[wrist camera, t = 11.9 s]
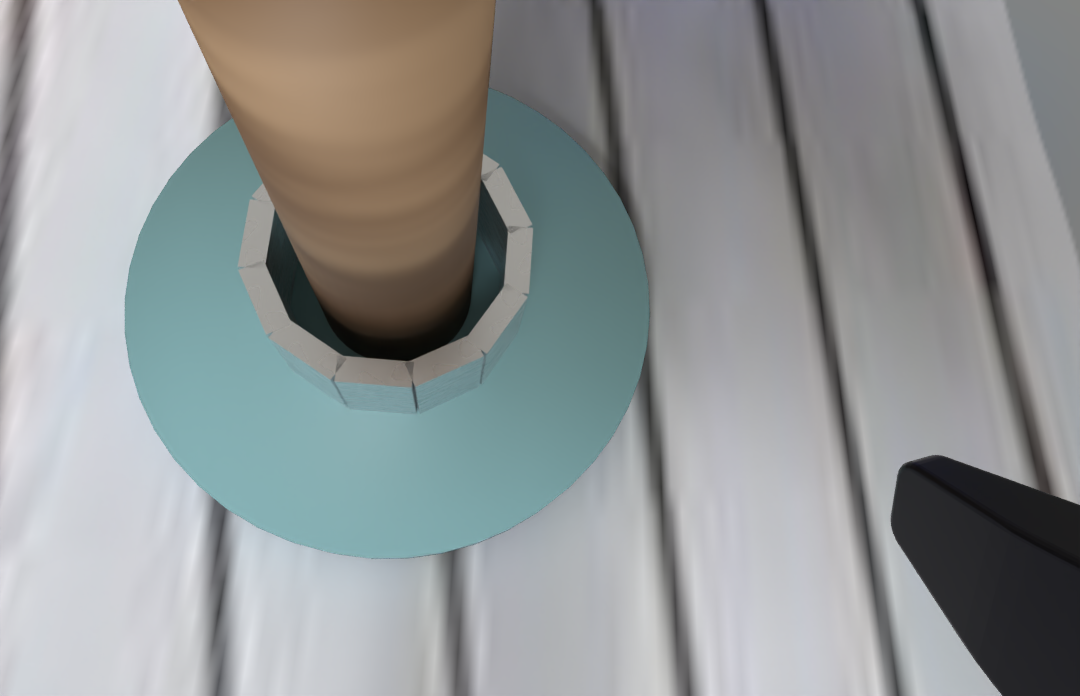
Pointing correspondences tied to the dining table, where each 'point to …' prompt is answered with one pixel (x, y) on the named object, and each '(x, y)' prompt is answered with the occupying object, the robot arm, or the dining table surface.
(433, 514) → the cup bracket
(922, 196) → the dining table surface
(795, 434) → the dining table surface
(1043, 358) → the dining table surface
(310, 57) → the dowel
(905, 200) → the dining table surface
